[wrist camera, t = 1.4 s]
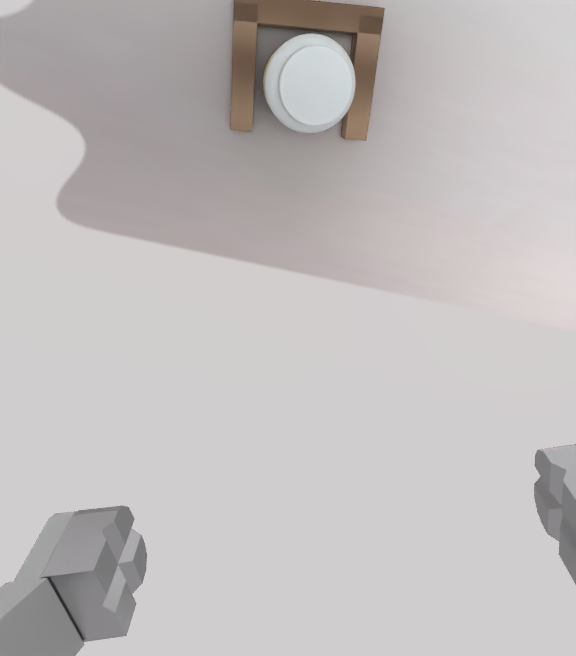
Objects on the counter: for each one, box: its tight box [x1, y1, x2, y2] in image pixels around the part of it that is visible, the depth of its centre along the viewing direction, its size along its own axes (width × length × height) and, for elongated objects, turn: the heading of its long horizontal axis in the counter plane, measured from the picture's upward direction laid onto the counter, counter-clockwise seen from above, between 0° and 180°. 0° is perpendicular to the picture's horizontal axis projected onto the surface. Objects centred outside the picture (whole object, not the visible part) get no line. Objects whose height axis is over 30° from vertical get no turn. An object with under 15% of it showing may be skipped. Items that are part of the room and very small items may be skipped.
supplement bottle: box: [263, 33, 356, 133], centre depth 32 cm, size 5×5×10 cm
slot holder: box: [230, 0, 385, 141], centre depth 35 cm, size 8×10×2 cm
